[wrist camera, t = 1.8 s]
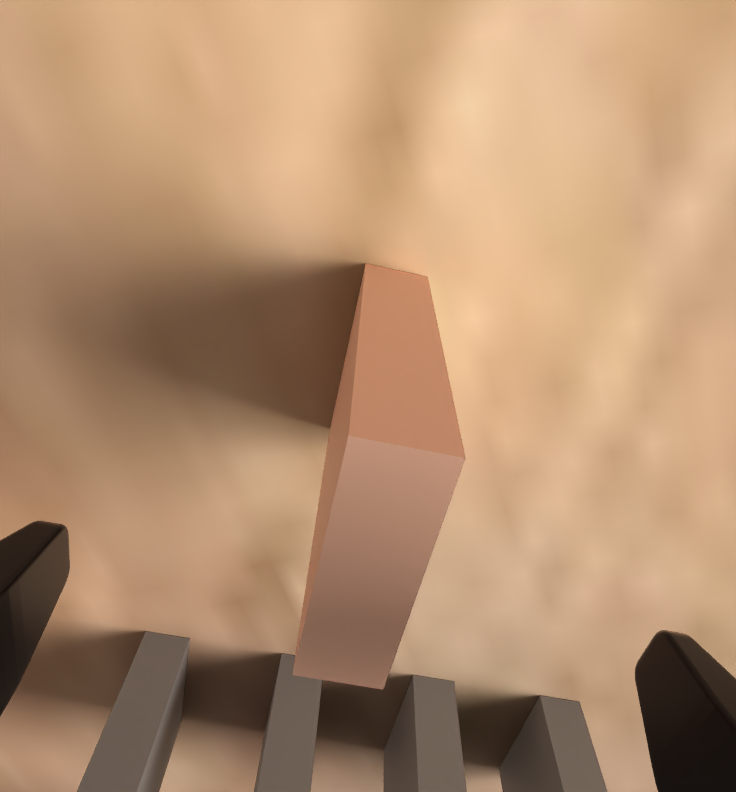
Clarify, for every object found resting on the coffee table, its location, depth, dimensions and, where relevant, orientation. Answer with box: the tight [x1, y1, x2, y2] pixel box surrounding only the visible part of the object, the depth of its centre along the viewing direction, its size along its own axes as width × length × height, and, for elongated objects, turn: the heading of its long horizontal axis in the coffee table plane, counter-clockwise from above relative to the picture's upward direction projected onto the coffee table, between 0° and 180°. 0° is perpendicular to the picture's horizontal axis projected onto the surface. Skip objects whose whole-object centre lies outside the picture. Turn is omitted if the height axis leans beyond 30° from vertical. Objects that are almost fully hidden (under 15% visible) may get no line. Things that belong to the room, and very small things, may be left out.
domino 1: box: [77, 631, 190, 792], centre depth 19 cm, size 5×2×8 cm, turn 168°
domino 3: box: [293, 264, 465, 689], centre depth 13 cm, size 5×2×8 cm, turn 168°
